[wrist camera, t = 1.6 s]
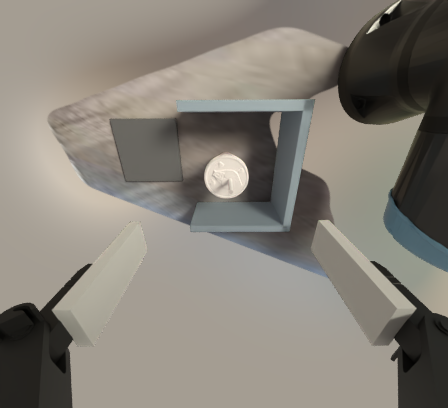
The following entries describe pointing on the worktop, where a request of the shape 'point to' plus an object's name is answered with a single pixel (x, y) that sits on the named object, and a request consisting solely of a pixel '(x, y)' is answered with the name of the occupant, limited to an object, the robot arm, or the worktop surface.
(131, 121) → the mat
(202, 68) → the worktop surface
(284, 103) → the open frame
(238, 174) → the smoothie
